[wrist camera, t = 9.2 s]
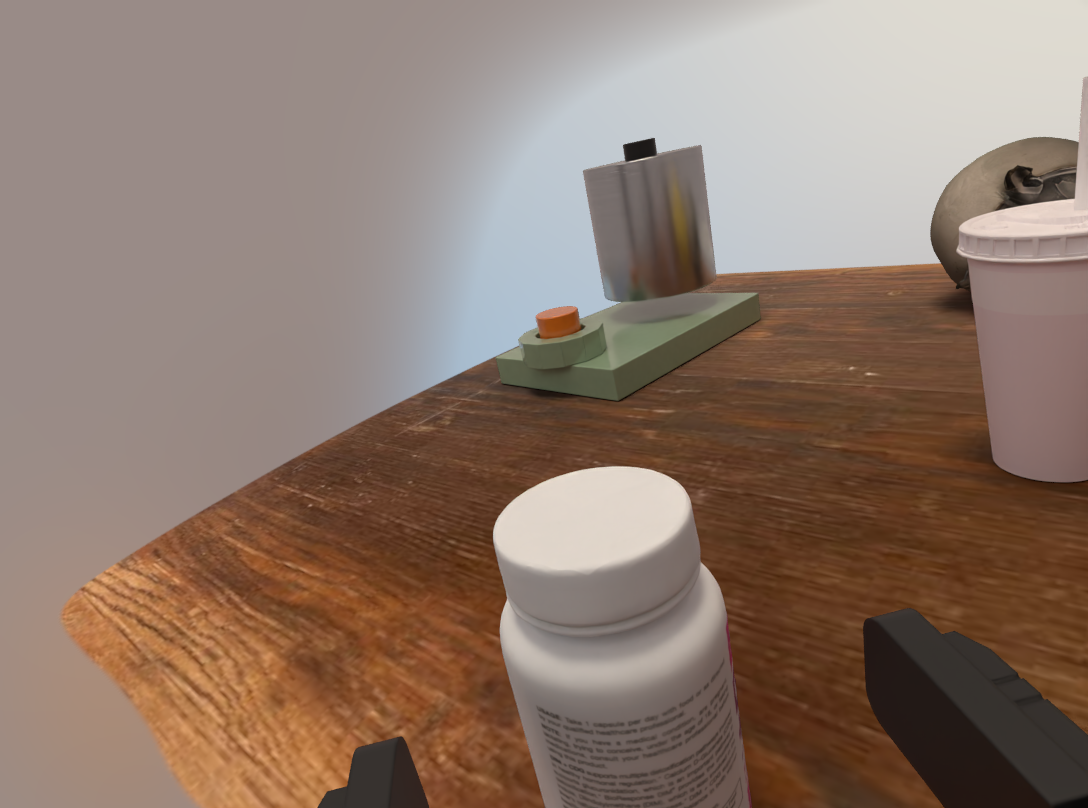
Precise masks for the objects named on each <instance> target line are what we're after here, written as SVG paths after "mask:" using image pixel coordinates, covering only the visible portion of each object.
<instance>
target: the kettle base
mask: <svg viewBox="0 0 1088 808" xmlns="http://www.w3.org/2000/svg"><path fill="white" fill-rule="evenodd" d="M760 319H761V316H760V305H759V294H758V293H685V294H681V295H677V296H672V297H667V298H662V299H655V300H648V301H638V302H621V303H619V304H616V305H614V306H612V307H610V308H607V309H605V310H603V311H600V312H598V313H596V314H593V315H591V316H589V317H587V318H584V319H580V324H581V329H582V330H581V331H579V332H576V333H574V334H571V335H568V336H564V337H558V338H550V339H540V336H539V331H538V327H537V328H535V329H533V330H530V331H528V332H526V333H524V334H523V336H521V337H520V338H519V339H518V341H519V346H520V347H518V348H516V349H513V350H511V351H509V352H507V353H504V354H502V355H500V356H497V357H496V361H497V366H498V370H499V374H500V378H501V382H502V384H509V385H515V386H522V387H529V388H535V389H542V390H549V391H555V392H562V393H568V394H575V395H582V396H588V397H595V398H601V399H608V400H615V401H619V400H621V399H623V398H624V397H626V396H628V395H630V394H631V393H633V392H635V391H636V390H638V389H640V388H642V387H643V386H645V385H647V384H649V383H650V382H652V381H654V380H656V379H657V378H659V377H661V376H663V375H664V374H666V373H668V372H669V371H671V370H673V369H675V368H676V367H678V366H680V365H682V364H683V363H685V362H687V361H689V360H690V359H692V358H694V357H696V356H697V355H699V354H701V353H702V352H704V351H706V350H708V349H709V348H711V347H713V346H715V345H716V344H718V343H720V342H722V341H723V340H725V339H727V338H729V337H730V336H732V335H734V334H735V333H737V332H739V331H741V330H742V329H744V328H746V327H748V326H749V325H751V324H753V323H755V322H756V321H758V320H760Z"/></svg>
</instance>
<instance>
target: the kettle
mask: <svg viewBox="0 0 1088 808" xmlns="http://www.w3.org/2000/svg"><path fill="white" fill-rule="evenodd" d="M623 148H624V155H625V161H621V162H616V163H612V164H607V165H603V166H599V167H595V168H591V169H586V170H584V171H583V174H584V180H585V186H586V191H587V197H588V202H589V208H590V214H591V220H592V226H593V231H594V237H595V243H596V249H597V255H598V260H599V266H600V272H601V277H602V283H603V289H604V295H605V298H606V299H608V300H611V301H616V302H638V301H648V300H655V299H662V298H667V297H672V296H677V295H681V294H685V293H688V292H692V291H695V290H698V289H700V288H703V287H705V286H707V285H709V284H711V283H713V282H714V281H715V280H716V269H715V261H714V251H713V243H712V234H711V225H710V216H709V208H708V199H707V190H706V181H705V173H704V164H703V155H702V146H701V145H698V146H693V147H688V148H682V149H678V150H672V151H667V152H662V153H658V154H657V151H656V145H655V138H651V139H647V140H642V141H637V142H634V143H628V144H624V145H623Z"/></svg>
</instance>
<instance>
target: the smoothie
mask: <svg viewBox="0 0 1088 808" xmlns="http://www.w3.org/2000/svg"><path fill="white" fill-rule="evenodd" d="M956 252H957V253H958V254H959V255H960V256H962V257H964V258H967V261H968V267H969V276H970V285H971V295H972V301H973V308H974V316H975V323H976V331H977V339H978V347H979V355H980V362H981V370H982V378H983V386H984V394H985V401H986V409H987V417H988V425H989V433H990V440H991V448H992V456H993V460H994V462H995V463H996V464H997V465H998V466H999V467H1000V468H1002V469H1004V470H1005V471H1007V472H1010V473H1012V474H1015V475H1018V476H1021V477H1024V478H1029V479H1033V480H1039V481H1048V482H1077V481H1084V480H1088V77H1085V78H1083V90H1082V105H1081V119H1080V132H1079V146H1078V160H1077V174H1076V188H1075V199H1067V200H1058V201H1050V202H1043V203H1036V204H1030V205H1023V206H1018V207H1013V208H1007V209H1003V210H998V211H994V212H990V213H987V214H983V215H980V216H977V217H974V218H971V219H969V220H967V221H966V222H964V223H963V224H962V225H961V226H960V227H959V245H958V247H957V250H956Z"/></svg>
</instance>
